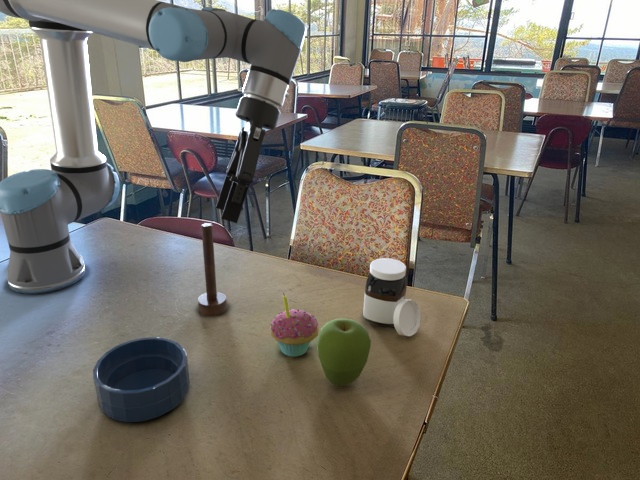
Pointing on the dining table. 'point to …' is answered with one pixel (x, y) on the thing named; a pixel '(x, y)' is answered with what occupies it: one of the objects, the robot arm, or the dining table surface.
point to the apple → (343, 350)
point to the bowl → (141, 379)
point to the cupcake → (294, 330)
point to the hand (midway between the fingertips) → (225, 215)
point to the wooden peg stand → (210, 278)
